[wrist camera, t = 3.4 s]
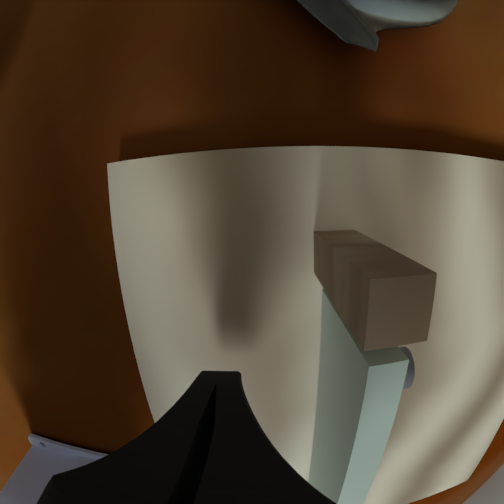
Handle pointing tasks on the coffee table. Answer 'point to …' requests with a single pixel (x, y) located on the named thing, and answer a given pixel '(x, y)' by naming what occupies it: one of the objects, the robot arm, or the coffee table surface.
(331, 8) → the salad plate
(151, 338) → the door frame board
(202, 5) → the coffee table surface
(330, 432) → the door
